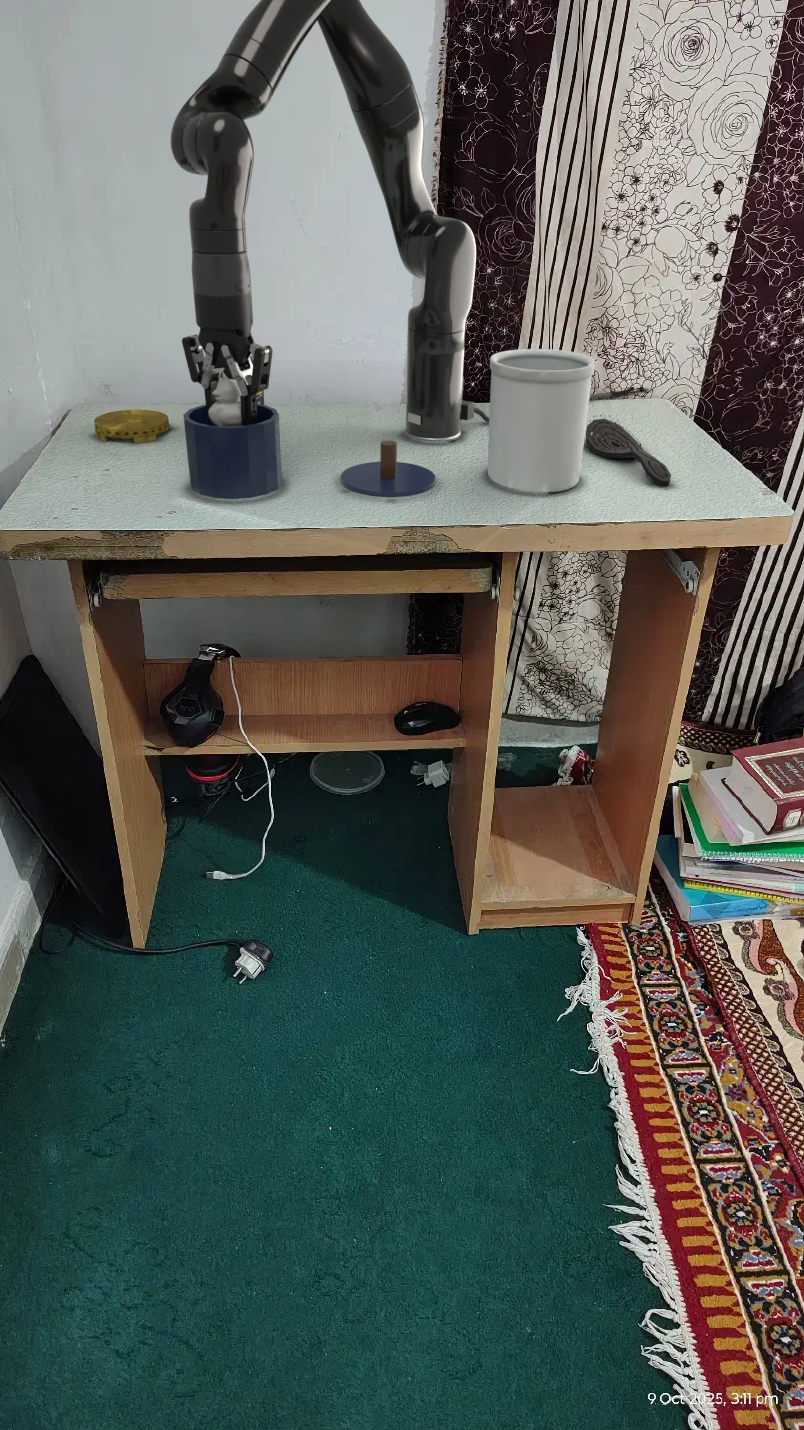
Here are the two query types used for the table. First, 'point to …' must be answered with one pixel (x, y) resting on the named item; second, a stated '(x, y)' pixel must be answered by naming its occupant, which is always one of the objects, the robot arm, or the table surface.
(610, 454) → the hairbrush
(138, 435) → the golden brown disc
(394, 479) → the lid
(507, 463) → the utensil holder
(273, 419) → the pot
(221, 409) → the grey lumpy rounded piece
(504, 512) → the table surface
